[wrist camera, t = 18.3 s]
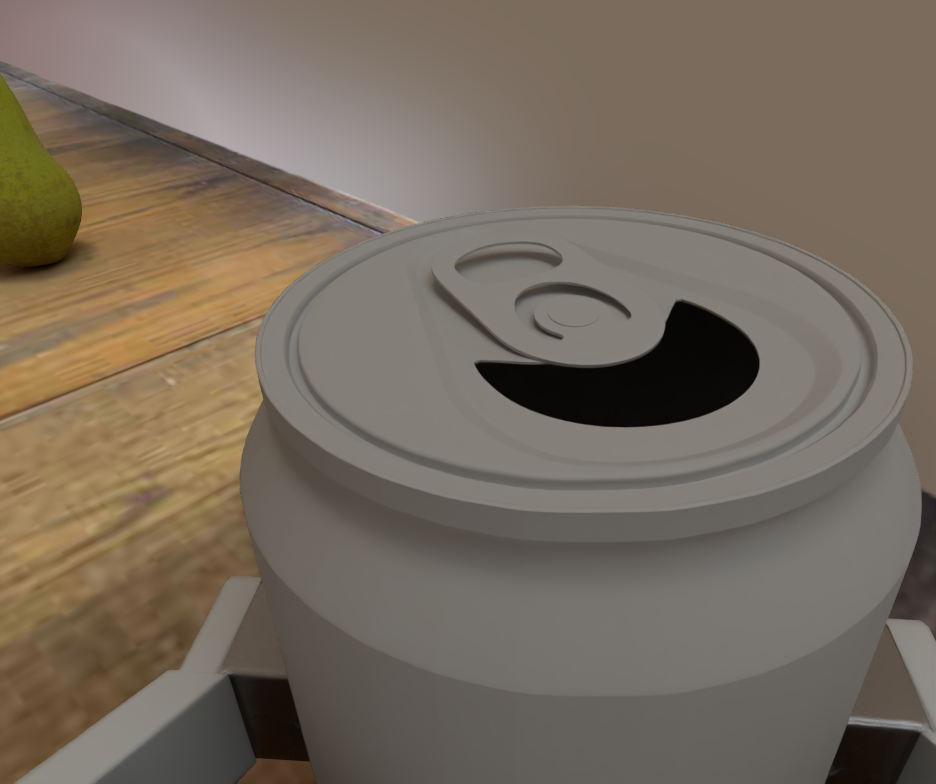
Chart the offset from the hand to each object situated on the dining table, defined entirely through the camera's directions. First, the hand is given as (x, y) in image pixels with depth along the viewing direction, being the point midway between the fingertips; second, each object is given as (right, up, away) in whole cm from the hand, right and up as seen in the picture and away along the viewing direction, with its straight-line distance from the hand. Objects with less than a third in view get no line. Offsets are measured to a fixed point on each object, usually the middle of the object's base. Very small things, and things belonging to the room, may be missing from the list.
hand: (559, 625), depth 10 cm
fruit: (-24, +10, +30) cm, 39 cm away
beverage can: (0, -6, +3) cm, 7 cm away
